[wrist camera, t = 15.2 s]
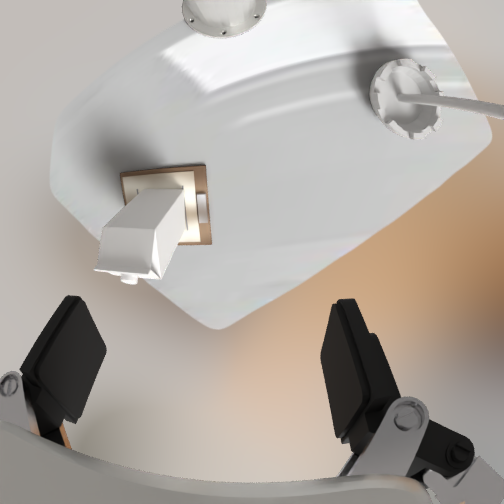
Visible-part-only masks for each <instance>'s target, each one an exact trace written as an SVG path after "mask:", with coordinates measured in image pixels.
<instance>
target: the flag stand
mask: <svg viewBox="0 0 504 504" xmlns="http://www.w3.org/2000/svg"><path fill="white" fill-rule="evenodd" d="M435 78H436V76H435V75H434V73H433V72H432V71H431V70H430V69H429V68H428V67H426V66H420V65H419V64H417V63H415V62H413V60H412V59H398V60H393V61H390V62H387V63H385V64H384V65H383V66H381V67H380V68H379V70H378V71H377V72H376V74H375V76H374V78H373V80H372V82H371V85H370V92H369V95H370V101H371V105H372V107H373V110H374V112H375V113H376V115H377V116H378V117H379V119H380V120H381V122H382V123H383V124H384V125H385V126H386V127H387V128H388V129H389V130H390V131H392V132H393V133H395V134H397V135H399V136H402V137H406V138H410V139H413V140H421V139H425V138H426V135H428V134H429V133H430V132H431V131H432V130H433V131H437V130H438V129H439V127H440V126H441V124H442V122H443V120H442V119H441V118H440V115H441V107H445V108H452V109H457V110H463V111H468V112H473V113H478V114H482V115H486V116H491V117H495V118H499V119H502V120H504V105H499V104H494V103H489V102H483V101H477V100H471V99H463V98H456V97H446V96H444V92H443V91H439V89H438V86H437V84H436V82H435V80H434V79H435Z"/></svg>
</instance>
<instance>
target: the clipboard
mask: <svg viewBox="0 0 504 504" xmlns="http://www.w3.org/2000/svg"><path fill="white" fill-rule="evenodd" d="M120 178H121V185H122V191H123V196H124V202H125V206H126V205H127V204H128V203H129V202H130V201H131V200H132V199H133V198H135V197H136V196H137V195H138V194H139V193H140V192H141V191H142V190H144V189H184V206H185V231H184V233H183V235H182V237H181V239H180V241H179V243H178V245H212V238H211V227H210V216H209V203H208V190H207V176H206V165H201V166H185V167H172V168H160V169H150V170H140V171H132V172H123V173H120Z"/></svg>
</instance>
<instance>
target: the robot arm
mask: <svg viewBox="0 0 504 504" xmlns="http://www.w3.org/2000/svg"><path fill="white" fill-rule="evenodd" d="M266 6H267V0H183V5H182V13H183V16H184V19H185V21H186V22H187V24H188V25H189V26H190V27H191V28H192V29H193V30H195V31H196V32H198V33H200V34H202V35H204V36H208V37H212V38H229V37H235V36H238V35H241V34H243V33H246V32H248V31H249V30H251V29H252V28H254V27H255V26H256V25H257V24H258V23H259V22H260V21H261V19H262V18H263V16H264V14H265V11H266ZM255 17H258V18H257V19H256V18H255ZM192 21H194V22H193V23H191V22H192ZM224 32H225V33H226V34H225V35H223V33H224ZM106 351H107V350H106V345H105V343H104V341H103V339H102V337H101V335H100V333H99V331H98V329H97V327H96V325H95V323H94V321H93V319H92V317H91V315H90V312H89V310H88V308H87V306H86V303H85V302H84V301H83V300H82V299H81V297H79V296H70V295H68V296H66V297H65V298H64V300H63V301H62V303H61V304H60V305H59V307H58V308H57V310H56V311H55V313H54V314H53V315H52V317H51V318H50V320H49V321H48V323H47V325H46V326H45V328H44V329H43V331H42V332H41V334H40V335H39V337H38V339H37V340H36V342H35V343H34V345H33V347H32V348H31V350H30V352H29V354H28V356H27V357H26V359H25V361H24V362H23V364H22V366H21V368H20V371H21V372H22V373H23V375H22V377H21V375H20V374H19V373H17V372H15V371H10V372H7V373H6V374H4V375H3V376H2V377H1V379H0V504H433V503H432V500H431V498H430V496H429V494H428V492H427V490H426V488H430V489H431V490H432V491H433V492H434V493H435V494H436V495H435V497H436V498H437V499H438V500H439V502H440V503H441V504H500V503H501V502H502V500H503V498H504V479H503V478H502V477H501V476H500V475H499V474H497V472H496V471H495V470H493V468H492V467H490V466H489V465H488V464H487V463H486V462H485V461H484V460H483V459H482V458H481V457H480V456H478V457H477V458H476V457H475V456H474V453H475V452H474V446H473V443H472V442H471V441H470V439H468V438H467V437H465V436H463V435H461V434H459V433H457V432H454V431H452V430H450V429H448V428H446V427H444V426H442V425H440V424H438V423H436V422H434V421H432V420H430V419H429V412H428V410H427V407H426V406H425V405H424V404H423V402H422V401H420V400H418V399H417V398H414V397H402V398H401V396H400V393H399V390H398V387H397V385H396V382H395V379H394V377H393V374H392V372H391V369H390V366H389V364H388V361H387V359H386V356H385V354H384V352H383V349H382V346H381V345H380V342H379V339H378V337H377V335H376V334H374V333H369V331H368V329H367V326H366V324H365V322H364V319H363V317H362V314H361V312H360V310H359V307H358V305H357V303H356V301H355V299H339V300H338V301H337V304H333V305H332V307H331V312H330V316H329V321H328V326H327V329H326V334H325V338H324V342H323V346H322V350H321V364H322V369H323V374H324V378H325V383H326V389H327V393H328V399H329V403H330V409H331V414H332V420H333V425H334V430H335V435H336V437H337V438H341V443H342V444H346V443H350V447H351V451H352V452H353V453H352V455H351V456H350V458H349V459H348V461H347V462H346V464H345V465H344V466H343V468H342V469H341V471H340V472H339V474H338V475H337V476H336V477H333V478H323V479H314V480H304V481H291V482H270V483H234V482H215V481H204V480H194V479H186V478H179V477H172V476H166V475H160V474H155V473H150V472H145V471H140V470H136V469H132V468H128V467H124V466H120V465H117V464H113V463H109V462H106V461H103V460H100V459H97V458H94V457H90V456H88V455H85V454H82V453H79V452H77V451H74V450H72V448H71V445H70V442H69V440H68V437H67V434H66V431H65V428H64V425H63V419H65V420H66V421H69V422H72V423H75V424H76V423H77V420H78V418H80V417H81V415H82V413H83V410H84V407H85V405H86V402H87V399H88V396H89V394H90V391H91V389H92V386H93V384H94V381H95V379H96V376H97V374H98V371H99V369H100V367H101V364H102V362H103V359H104V357H105V355H106Z"/></svg>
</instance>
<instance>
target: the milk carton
mask: <svg viewBox="0 0 504 504" xmlns="http://www.w3.org/2000/svg"><path fill="white" fill-rule="evenodd" d="M184 231H185V206H184V189H144V190H142V191H141V192H140V193H139V194H138V195H137V196H136V197H135V198H133V199H132V200H131V201H130V202H129V203H128V204H127V205H126V206H125V207H124V208H123V209H122V210H120V211H119V212H118V213H117V214H116V215H115V216H114V217H113V218H112V219H111V220H110V221H109V222H108V223H107V224H106V225H105V226H104V227H103V228H102V235H101V241H100V248H99V256H98V264H97V266H96V267H95V268H94V271H102V272H109V273H110V274H112V275H119V276H121V279H120V280H121V281H122V282H124V283H127V284H136V283H137V279H138V277H139V278H150V279H162V277H163V275H164V272H165V270H166V268H167V266H168V264H169V262H170V259H171V257H172V255H173V253H174V251H175V249H176V247H177V245H178V243H179V241H180V239H181V237H182V235H183V233H184Z"/></svg>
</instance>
